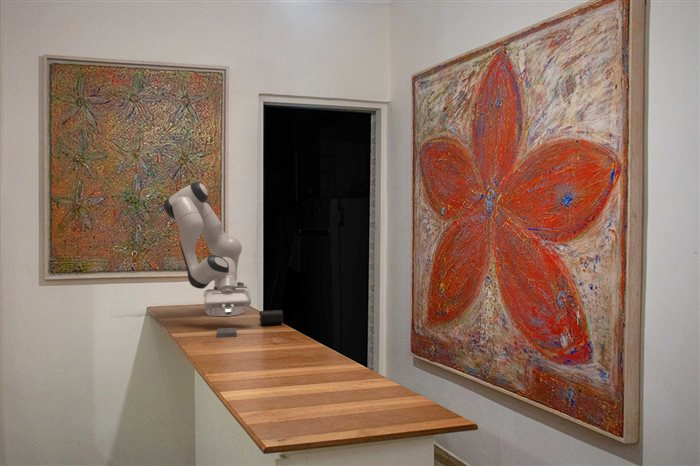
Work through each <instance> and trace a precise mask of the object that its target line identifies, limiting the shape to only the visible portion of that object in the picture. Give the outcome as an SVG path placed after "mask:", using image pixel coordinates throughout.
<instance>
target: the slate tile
mask: <svg viewBox="0 0 700 466" xmlns="http://www.w3.org/2000/svg"><path fill="white" fill-rule="evenodd" d="M237 334H238V333H237V327H225V328H223V327H222V328H217V329H216V338H217V339H219V338H220V339H221V338H224V339H225V338H237Z"/></svg>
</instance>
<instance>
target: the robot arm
mask: <svg viewBox="0 0 700 466" xmlns="http://www.w3.org/2000/svg"><path fill="white" fill-rule="evenodd" d="M208 199H209V193H208V189H207V187H206V186H205V185H204V184H203V183H202V182H199V181H195V182H192V183H190V184H189V185H187V186H185V187H183V188H181V189H179V191H177V192H175V193H174V194H172V196H170V197H168V198H167V199H165V201H164V203H163V208H164V212H165V214H166V215H168V217H170V218H171V219H175V221H176V224H177V226H178V228H179V229H178V230H179V247H180V251H181V254H182V258H183V261H184V264H185V267H186V272H187V278H188V282H189V284H190V285H191V286H192V287H193V288H195V289H200V290H202V289H205V288H206V287H207V286H208V285H209V284H210V283H211V282H213V281H214V285H213V286H214V287H213V289H210V288H209V289H207V290H205V291H203V297H204V307H205V313H206V315H207V316H209V317H212V316H213V317H231V316H239V315H241V314H245V310H243V307H250V306H251V305H252V299H251V298H252V297H251V293H250V290H249V289H248V285H247V283H245V282H241V281H238V264H239V260H240V255H241V253H242V250H243V247H242V243H241V242H240V241H239V240H238V239H237V238H235V237H233V236H228V235H227V234H226V232H225V230H224V228H223V225H222V222H221V220H220V219H219V217H218V216H217V214H216V213H215V211H214V210H213V209H212V207H211V206H210V204H208V202H207V200H208ZM201 235H202V237H203V240H204V241H205V244H206V245H207V247H208V249H209V252H210V253H211V254H210V255H208V256H207V257H206V258H204V259H203V260H202V261H200V262H199V260H198V257H197V255H196V245H197V242H198V240H199V238H200V237H201Z"/></svg>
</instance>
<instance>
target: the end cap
mask: <svg viewBox="0 0 700 466" xmlns="http://www.w3.org/2000/svg"><path fill="white" fill-rule="evenodd" d="M258 315H259V319H258V320H259V326H261V327H265V326H281V325H282V324H283V322H284V312H283V309H275V310H260V311H259V314H258Z"/></svg>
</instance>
